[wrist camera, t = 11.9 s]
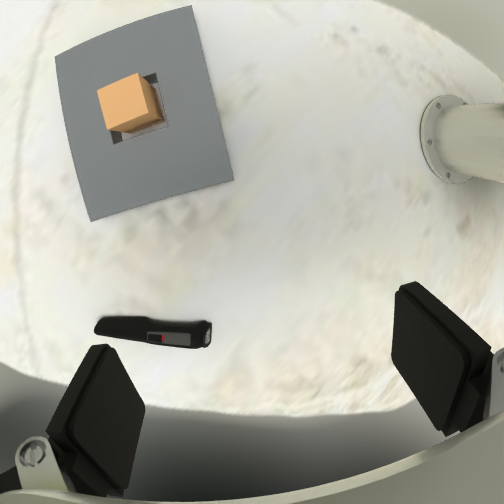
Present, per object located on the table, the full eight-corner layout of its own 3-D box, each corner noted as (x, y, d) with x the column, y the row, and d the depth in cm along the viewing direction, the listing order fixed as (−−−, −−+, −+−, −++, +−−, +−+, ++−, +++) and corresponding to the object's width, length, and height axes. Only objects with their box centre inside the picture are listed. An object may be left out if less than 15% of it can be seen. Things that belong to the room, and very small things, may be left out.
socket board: (193, 17, 27) (191, 5, 23) (232, 177, 33) (234, 180, 30) (67, 63, 26) (54, 56, 23) (101, 215, 33) (90, 222, 30)
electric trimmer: (99, 307, 37) (91, 319, 34) (212, 319, 39) (211, 332, 36) (102, 330, 39) (95, 343, 36) (211, 342, 40) (210, 356, 37)
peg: (155, 89, 29) (137, 72, 22) (164, 120, 31) (148, 112, 23) (122, 101, 29) (96, 90, 22) (131, 133, 31) (107, 129, 23)
